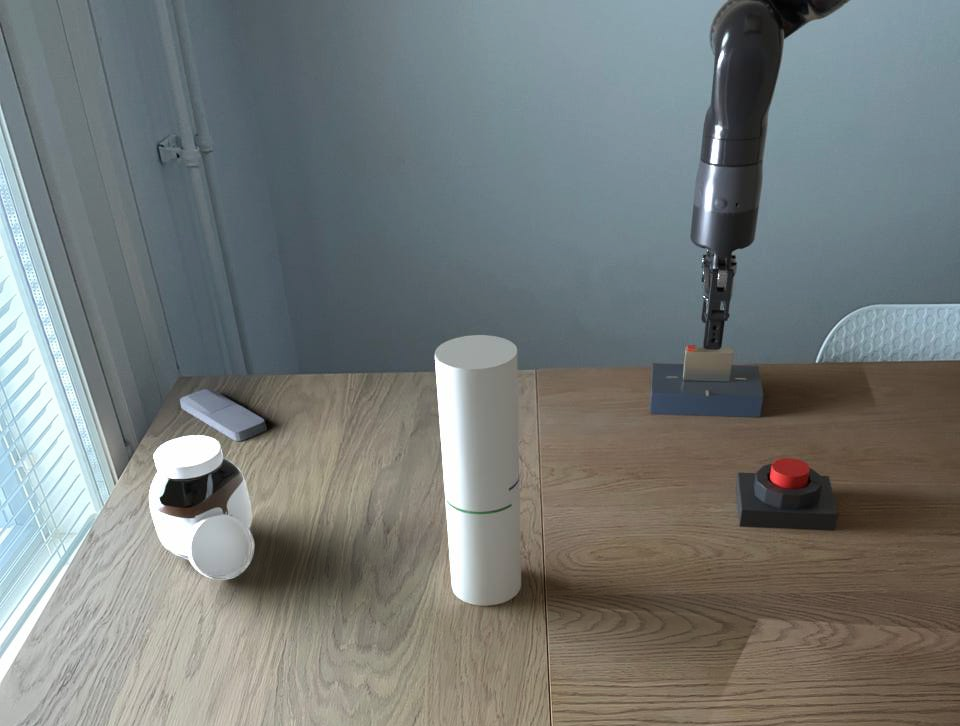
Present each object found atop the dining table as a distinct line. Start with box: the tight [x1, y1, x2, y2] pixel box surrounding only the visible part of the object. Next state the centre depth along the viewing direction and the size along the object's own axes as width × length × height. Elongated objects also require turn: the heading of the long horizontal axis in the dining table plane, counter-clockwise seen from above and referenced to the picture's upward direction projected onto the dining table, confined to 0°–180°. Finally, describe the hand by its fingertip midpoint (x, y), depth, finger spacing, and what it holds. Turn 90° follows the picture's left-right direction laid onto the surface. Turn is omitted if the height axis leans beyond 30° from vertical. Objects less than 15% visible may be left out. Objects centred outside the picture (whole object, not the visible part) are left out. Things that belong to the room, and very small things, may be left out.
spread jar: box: [148, 434, 255, 581], centre depth 103 cm, size 12×11×12 cm
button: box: [770, 457, 811, 489], centre depth 106 cm, size 4×4×2 cm
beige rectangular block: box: [683, 344, 735, 382], centre depth 127 cm, size 6×2×4 cm, turn 81°
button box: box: [735, 462, 839, 532], centre depth 108 cm, size 10×8×4 cm
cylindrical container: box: [434, 334, 522, 607], centre depth 93 cm, size 7×7×25 cm
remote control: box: [179, 388, 268, 442], centre depth 132 cm, size 5×2×15 cm
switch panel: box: [649, 362, 764, 418], centre depth 129 cm, size 14×10×3 cm
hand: (710, 334), depth 125 cm, fingers open, 8 cm apart
